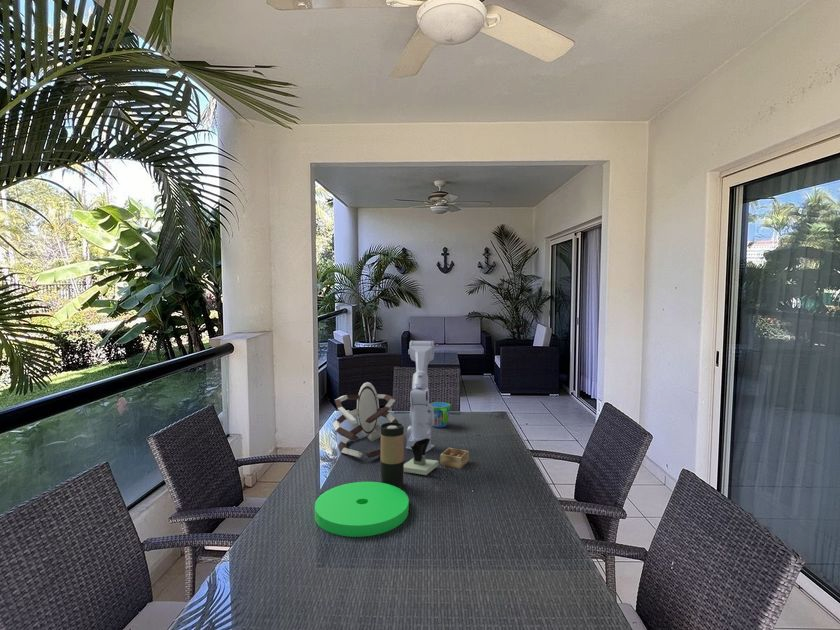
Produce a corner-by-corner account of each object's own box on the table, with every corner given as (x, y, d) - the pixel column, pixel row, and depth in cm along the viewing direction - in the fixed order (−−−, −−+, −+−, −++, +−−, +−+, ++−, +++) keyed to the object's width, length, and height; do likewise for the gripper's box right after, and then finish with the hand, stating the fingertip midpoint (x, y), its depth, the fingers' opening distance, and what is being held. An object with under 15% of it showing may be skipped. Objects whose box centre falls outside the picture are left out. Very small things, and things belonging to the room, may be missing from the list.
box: (440, 465, 167) (440, 454, 166) (448, 457, 174) (448, 447, 173) (460, 468, 163) (460, 458, 163) (468, 461, 170) (468, 451, 170)
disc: (316, 544, 115) (316, 531, 115) (312, 497, 141) (312, 487, 141) (419, 529, 122) (419, 517, 122) (397, 487, 148) (397, 477, 148)
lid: (400, 471, 160) (400, 458, 160) (413, 461, 169) (413, 449, 169) (426, 475, 156) (425, 461, 156) (438, 465, 165) (437, 452, 164)
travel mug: (376, 487, 148) (375, 427, 146) (388, 478, 154) (388, 421, 153) (396, 492, 144) (396, 430, 143) (408, 483, 151) (408, 424, 150)
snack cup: (424, 421, 221) (424, 401, 220) (445, 420, 223) (445, 400, 223) (432, 431, 206) (432, 409, 205) (454, 430, 208) (455, 408, 208)
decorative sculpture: (399, 430, 205) (399, 466, 170) (339, 432, 204) (327, 468, 169) (398, 378, 202) (398, 403, 167) (337, 379, 201) (324, 405, 166)
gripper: (420, 429, 153) (420, 468, 154) (438, 418, 166) (438, 455, 167) (402, 426, 156) (402, 465, 157) (421, 416, 169) (420, 451, 170)
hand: (419, 459), depth 162 cm, fingers closed on lid
